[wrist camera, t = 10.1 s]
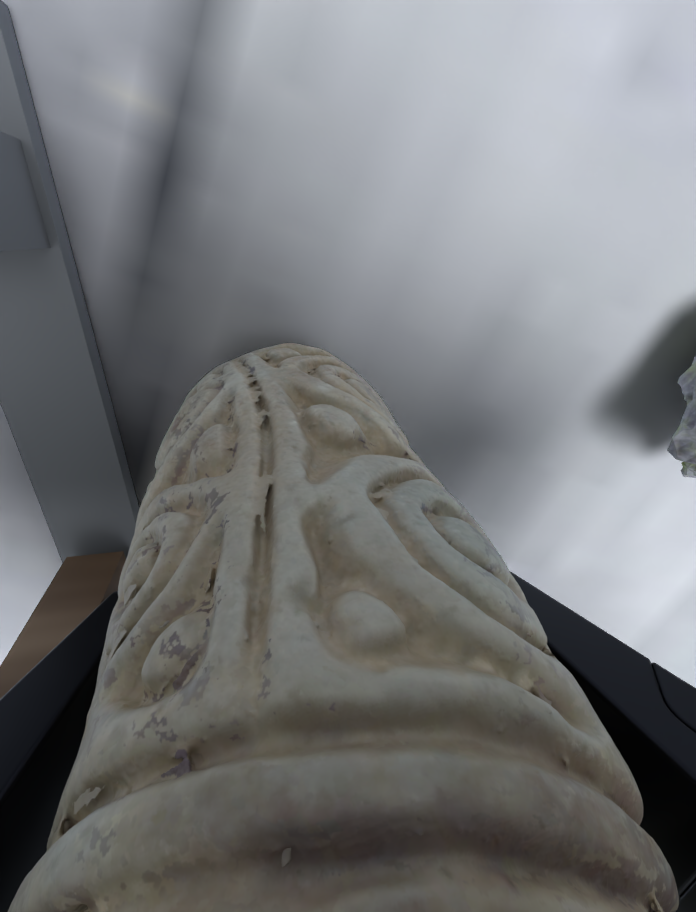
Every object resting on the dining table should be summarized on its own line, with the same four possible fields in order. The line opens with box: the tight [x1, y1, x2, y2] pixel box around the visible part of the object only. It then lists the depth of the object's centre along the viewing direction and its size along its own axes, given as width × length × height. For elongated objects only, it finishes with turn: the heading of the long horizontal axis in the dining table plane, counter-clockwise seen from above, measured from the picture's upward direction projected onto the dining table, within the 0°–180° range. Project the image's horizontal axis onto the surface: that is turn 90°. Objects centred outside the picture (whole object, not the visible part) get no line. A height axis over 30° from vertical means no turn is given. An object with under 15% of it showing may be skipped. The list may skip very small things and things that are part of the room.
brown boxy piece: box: [0, 551, 126, 699], centre depth 14 cm, size 12×7×5 cm, turn 0°
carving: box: [8, 343, 679, 912], centre depth 8 cm, size 6×8×12 cm
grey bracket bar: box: [0, 0, 139, 562], centre depth 12 cm, size 30×2×6 cm, turn 0°
